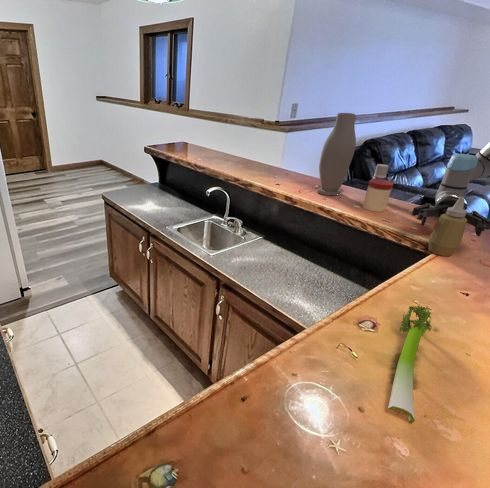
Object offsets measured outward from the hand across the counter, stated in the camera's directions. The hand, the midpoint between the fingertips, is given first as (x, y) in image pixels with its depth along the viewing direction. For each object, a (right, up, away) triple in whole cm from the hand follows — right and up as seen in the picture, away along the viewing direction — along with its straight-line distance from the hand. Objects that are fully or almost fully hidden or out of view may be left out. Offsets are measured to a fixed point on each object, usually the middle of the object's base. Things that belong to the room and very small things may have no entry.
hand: (450, 226), depth 104 cm
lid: (+2, +19, +37) cm, 42 cm away
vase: (-8, +18, +59) cm, 63 cm away
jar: (+2, +10, +42) cm, 43 cm away
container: (+9, +15, +53) cm, 56 cm away
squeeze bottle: (+2, -8, +7) cm, 11 cm away
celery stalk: (-38, -29, -36) cm, 60 cm away
